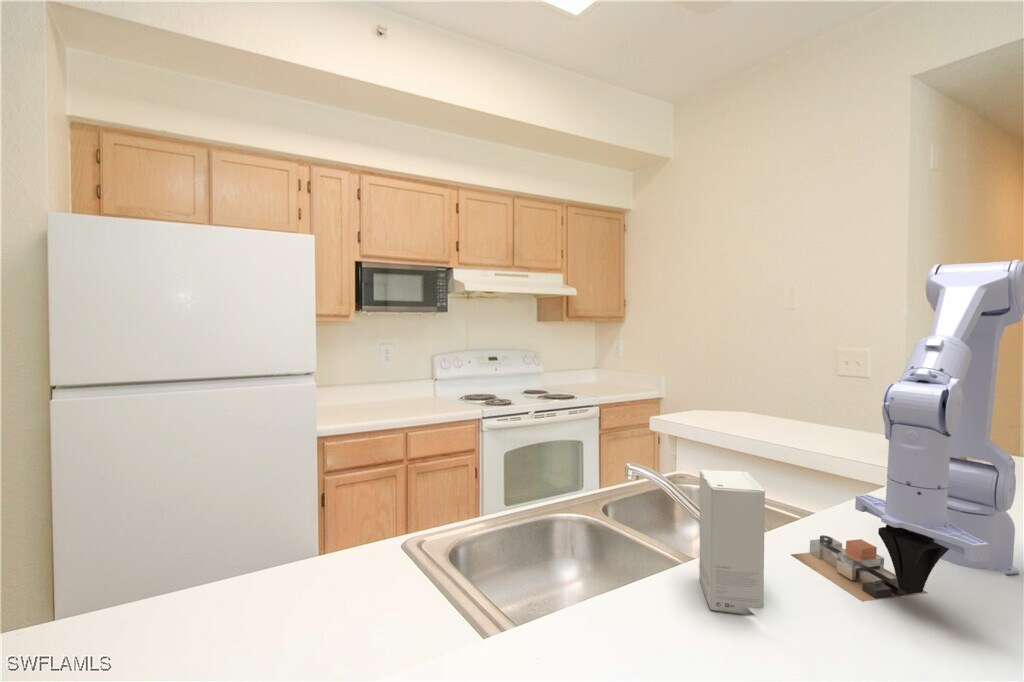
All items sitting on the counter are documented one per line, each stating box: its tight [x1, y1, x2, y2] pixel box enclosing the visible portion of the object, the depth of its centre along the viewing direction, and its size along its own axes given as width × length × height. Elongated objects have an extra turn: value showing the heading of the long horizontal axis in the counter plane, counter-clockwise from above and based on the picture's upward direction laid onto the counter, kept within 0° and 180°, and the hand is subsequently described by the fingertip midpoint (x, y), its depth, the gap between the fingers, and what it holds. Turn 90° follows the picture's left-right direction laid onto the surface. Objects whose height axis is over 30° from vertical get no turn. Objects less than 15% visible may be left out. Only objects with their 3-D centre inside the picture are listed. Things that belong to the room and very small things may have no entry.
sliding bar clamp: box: [809, 535, 908, 598], centre depth 68 cm, size 6×12×3 cm, turn 11°
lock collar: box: [837, 538, 885, 580], centre depth 67 cm, size 5×2×4 cm, turn 101°
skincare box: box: [698, 469, 766, 616], centre depth 64 cm, size 8×7×16 cm
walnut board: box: [790, 548, 929, 602], centre depth 68 cm, size 10×12×1 cm
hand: (910, 590), depth 61 cm, fingers closed
